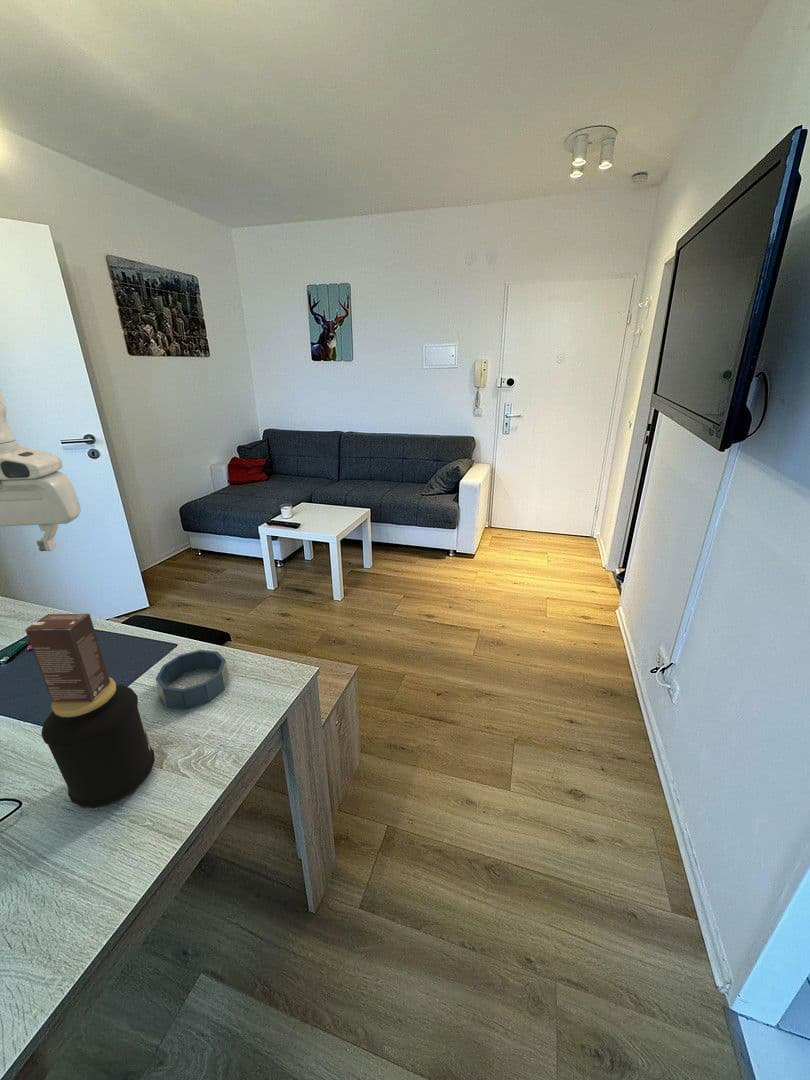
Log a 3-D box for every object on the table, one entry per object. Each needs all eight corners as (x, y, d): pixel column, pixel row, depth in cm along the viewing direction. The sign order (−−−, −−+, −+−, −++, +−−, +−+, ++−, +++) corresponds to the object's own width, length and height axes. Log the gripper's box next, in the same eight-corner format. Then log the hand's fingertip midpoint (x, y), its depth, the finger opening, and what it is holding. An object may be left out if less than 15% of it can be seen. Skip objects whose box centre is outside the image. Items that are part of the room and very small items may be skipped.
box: (112, 681, 65) (91, 612, 60) (92, 703, 61) (68, 630, 56) (71, 681, 65) (47, 612, 60) (49, 703, 60) (21, 630, 56)
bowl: (151, 713, 83) (146, 694, 81) (173, 669, 95) (169, 652, 93) (219, 705, 85) (216, 687, 83) (232, 663, 97) (230, 647, 95)
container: (65, 776, 70) (30, 688, 63) (148, 738, 77) (125, 655, 70) (73, 834, 61) (33, 739, 55) (165, 785, 69) (140, 696, 62)
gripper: (-125, 469, 57) (-82, 563, 62) (48, 466, 60) (75, 556, 66) (-84, 459, 63) (-47, 547, 68) (72, 457, 66) (95, 540, 71)
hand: (14, 551), depth 67 cm, fingers open, 8 cm apart
